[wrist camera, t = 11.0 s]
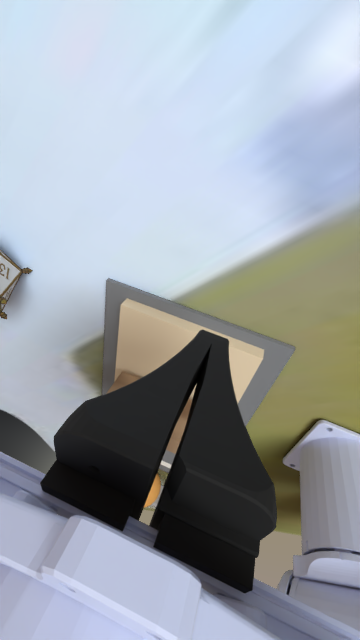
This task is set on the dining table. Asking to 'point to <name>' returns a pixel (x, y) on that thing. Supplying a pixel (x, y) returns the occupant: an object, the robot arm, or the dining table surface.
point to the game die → (8, 279)
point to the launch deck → (173, 335)
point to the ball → (153, 491)
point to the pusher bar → (180, 426)
